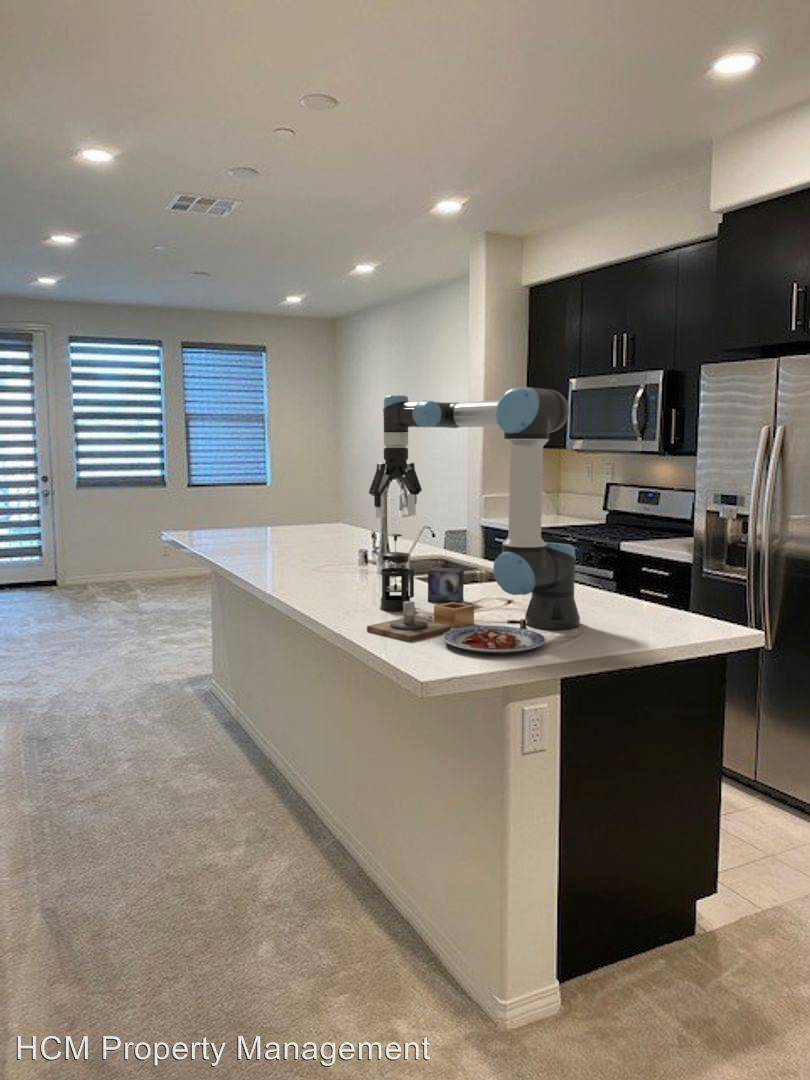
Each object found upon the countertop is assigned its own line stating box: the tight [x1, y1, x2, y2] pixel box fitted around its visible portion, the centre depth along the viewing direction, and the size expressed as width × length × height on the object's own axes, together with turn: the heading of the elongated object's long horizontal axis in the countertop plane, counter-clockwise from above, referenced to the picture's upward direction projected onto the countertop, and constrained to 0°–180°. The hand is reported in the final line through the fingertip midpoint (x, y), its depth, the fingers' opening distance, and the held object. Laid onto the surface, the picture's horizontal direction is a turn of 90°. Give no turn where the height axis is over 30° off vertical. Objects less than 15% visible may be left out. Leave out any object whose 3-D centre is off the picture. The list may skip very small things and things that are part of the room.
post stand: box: [366, 600, 452, 643], centre depth 216 cm, size 16×16×8 cm
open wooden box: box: [433, 602, 475, 629], centre depth 226 cm, size 8×8×5 cm
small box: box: [427, 566, 465, 604], centre depth 258 cm, size 11×6×10 cm, turn 71°
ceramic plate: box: [442, 625, 546, 655], centre depth 203 cm, size 26×26×3 cm
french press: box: [379, 533, 415, 613], centre depth 246 cm, size 12×9×23 cm
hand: (395, 516), depth 248 cm, fingers open, 13 cm apart
